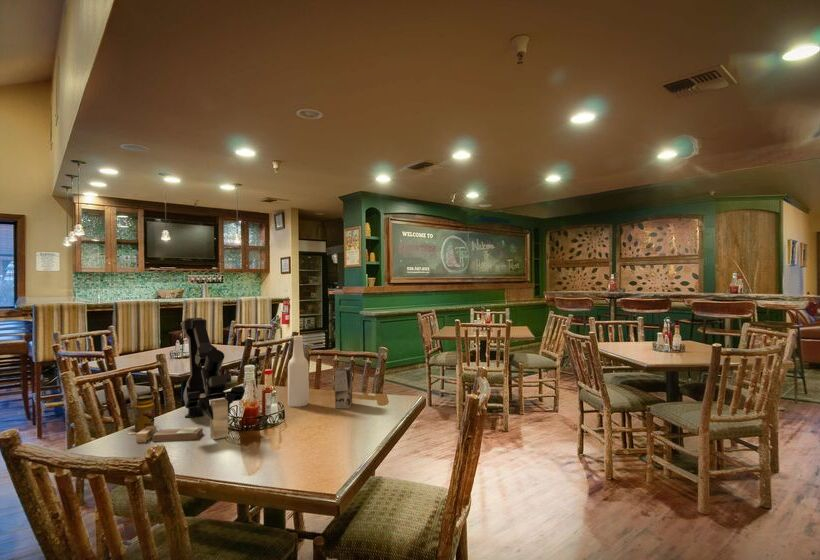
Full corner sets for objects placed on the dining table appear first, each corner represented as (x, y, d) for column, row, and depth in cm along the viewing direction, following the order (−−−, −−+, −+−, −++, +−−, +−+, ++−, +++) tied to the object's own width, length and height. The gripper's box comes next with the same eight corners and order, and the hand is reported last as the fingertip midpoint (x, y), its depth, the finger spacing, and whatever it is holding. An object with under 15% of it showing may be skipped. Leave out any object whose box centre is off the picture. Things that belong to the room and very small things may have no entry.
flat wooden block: (160, 435, 153) (160, 428, 153) (202, 433, 155) (202, 427, 155) (152, 441, 147) (152, 434, 147) (196, 439, 149) (196, 432, 149)
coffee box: (349, 408, 187) (349, 370, 187) (334, 408, 187) (334, 370, 187) (352, 403, 196) (352, 366, 196) (338, 403, 196) (338, 366, 196)
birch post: (210, 435, 151) (210, 400, 151) (224, 433, 154) (224, 398, 154) (213, 439, 148) (213, 403, 148) (227, 436, 150) (227, 401, 151)
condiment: (155, 430, 158) (156, 397, 159) (127, 435, 154) (128, 400, 154) (154, 425, 164) (154, 393, 165) (127, 429, 160) (127, 396, 160)
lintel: (147, 435, 155) (147, 426, 155) (156, 434, 155) (156, 425, 155) (136, 442, 147) (136, 433, 147) (145, 442, 147) (146, 433, 147)
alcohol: (306, 401, 199) (306, 334, 199) (310, 406, 191) (310, 336, 191) (286, 403, 195) (286, 335, 196) (289, 408, 187) (289, 337, 188)
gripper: (186, 369, 149) (194, 409, 140) (243, 363, 160) (253, 399, 151) (181, 388, 155) (188, 427, 146) (236, 381, 166) (246, 417, 157)
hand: (220, 417), depth 150 cm, fingers closed on birch post, 4 cm apart
